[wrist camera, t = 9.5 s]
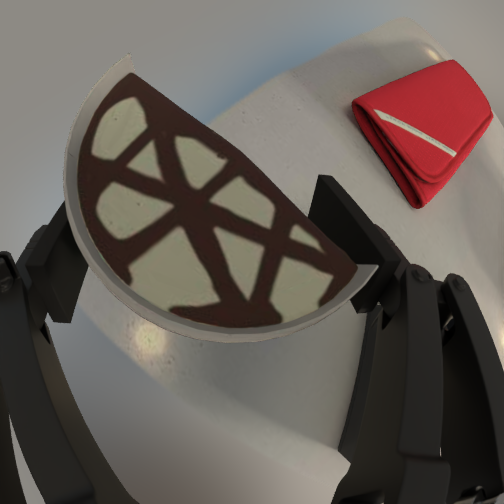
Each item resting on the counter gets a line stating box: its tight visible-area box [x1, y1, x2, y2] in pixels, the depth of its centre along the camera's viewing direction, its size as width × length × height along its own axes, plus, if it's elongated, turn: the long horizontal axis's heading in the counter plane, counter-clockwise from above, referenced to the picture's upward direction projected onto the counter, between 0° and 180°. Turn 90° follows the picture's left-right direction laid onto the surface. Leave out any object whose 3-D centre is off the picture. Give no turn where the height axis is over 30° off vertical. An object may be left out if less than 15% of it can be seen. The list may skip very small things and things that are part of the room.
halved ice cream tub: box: [63, 53, 379, 343], centre depth 12 cm, size 12×6×10 cm, turn 49°
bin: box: [338, 305, 455, 463], centre depth 25 cm, size 14×18×6 cm
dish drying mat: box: [352, 60, 493, 209], centre depth 33 cm, size 16×41×4 cm, turn 127°
